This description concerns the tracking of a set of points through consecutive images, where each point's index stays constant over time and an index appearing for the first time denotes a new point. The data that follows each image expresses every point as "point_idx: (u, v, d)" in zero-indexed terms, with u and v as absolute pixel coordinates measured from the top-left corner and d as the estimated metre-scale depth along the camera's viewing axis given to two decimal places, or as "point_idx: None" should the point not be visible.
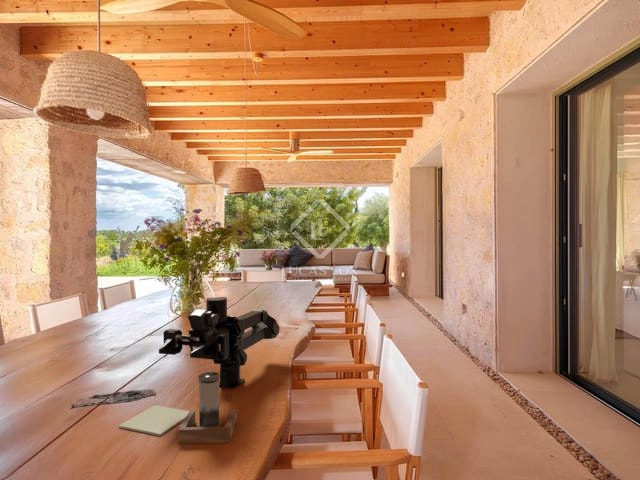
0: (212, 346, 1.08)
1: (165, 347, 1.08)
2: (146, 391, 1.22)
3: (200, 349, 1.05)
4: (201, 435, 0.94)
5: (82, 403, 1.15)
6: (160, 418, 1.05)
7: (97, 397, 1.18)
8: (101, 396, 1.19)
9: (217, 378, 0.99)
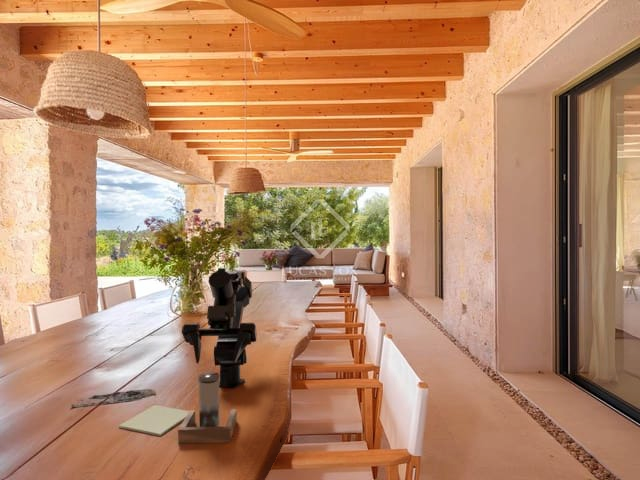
0: (243, 338, 1.11)
1: (198, 354, 1.08)
2: (146, 391, 1.22)
3: (238, 351, 1.09)
4: (201, 435, 0.94)
5: (82, 403, 1.15)
6: (160, 418, 1.05)
7: (97, 397, 1.18)
8: (101, 396, 1.19)
9: (217, 378, 0.99)
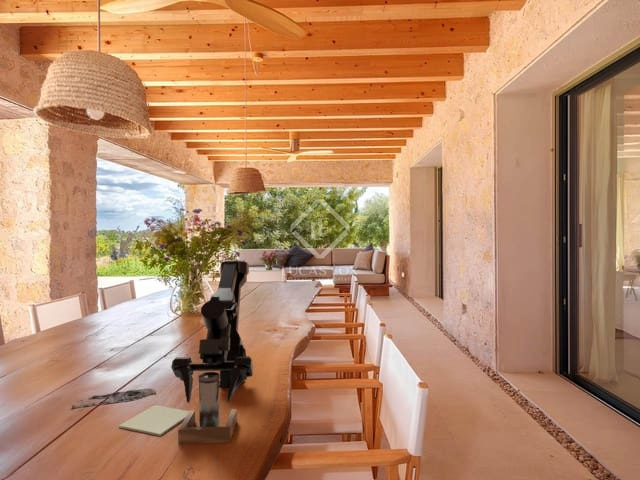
0: None
1: (189, 392, 0.99)
2: (146, 390, 1.22)
3: (233, 388, 1.00)
4: (201, 435, 0.94)
5: (82, 404, 1.14)
6: (160, 418, 1.05)
7: (96, 398, 1.18)
8: (100, 396, 1.19)
9: (217, 378, 0.99)
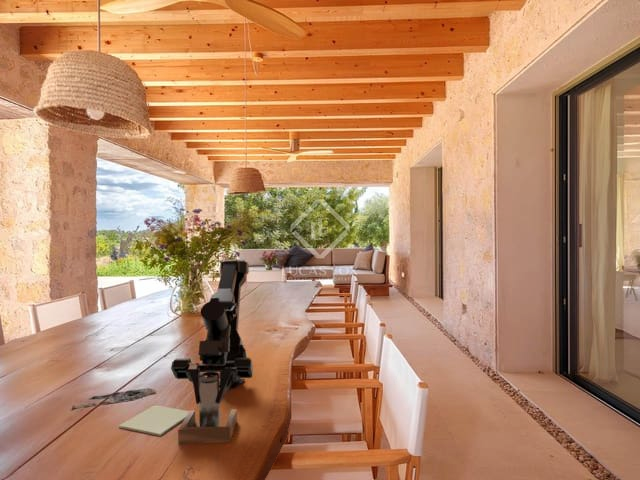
0: (229, 375, 1.02)
1: None
2: (146, 390, 1.23)
3: (223, 390, 1.00)
4: (201, 435, 0.94)
5: None
6: (160, 418, 1.05)
7: (96, 398, 1.18)
8: (100, 397, 1.19)
9: (217, 378, 0.99)
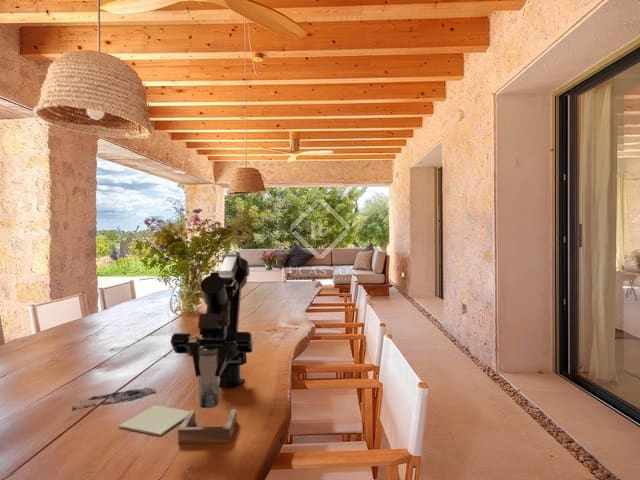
0: (229, 349, 1.02)
1: (198, 366, 0.99)
2: (145, 389, 1.23)
3: (223, 363, 0.99)
4: (201, 435, 0.94)
5: (82, 405, 1.14)
6: (160, 418, 1.05)
7: (96, 398, 1.18)
8: (100, 397, 1.18)
9: (217, 351, 0.98)
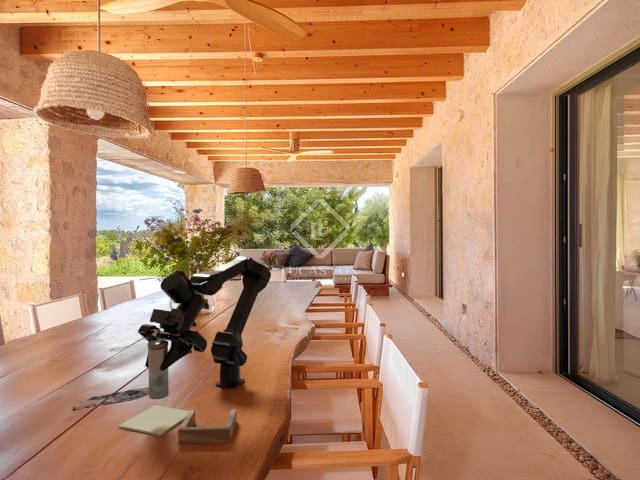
0: (179, 346, 1.04)
1: None
2: (145, 389, 1.23)
3: (168, 359, 1.02)
4: (201, 435, 0.94)
5: None
6: (160, 418, 1.05)
7: (96, 398, 1.18)
8: (99, 397, 1.18)
9: (161, 346, 1.02)
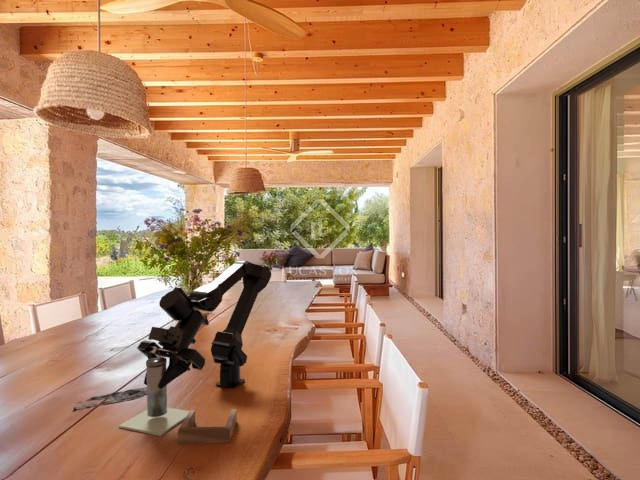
0: (178, 363, 1.05)
1: None
2: (145, 389, 1.24)
3: (166, 376, 1.03)
4: (201, 435, 0.94)
5: None
6: (160, 418, 1.05)
7: (95, 399, 1.17)
8: (99, 397, 1.18)
9: (159, 364, 1.03)
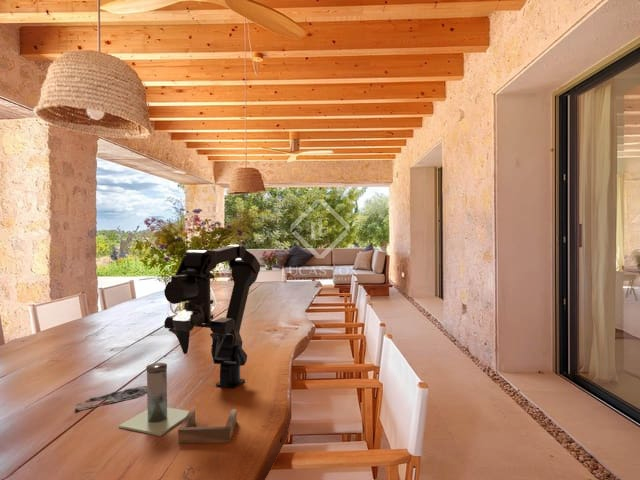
0: None
1: (184, 346, 1.15)
2: (143, 387, 1.24)
3: (216, 348, 1.12)
4: (201, 435, 0.94)
5: None
6: None
7: (95, 399, 1.17)
8: (98, 398, 1.18)
9: (159, 370, 1.03)
